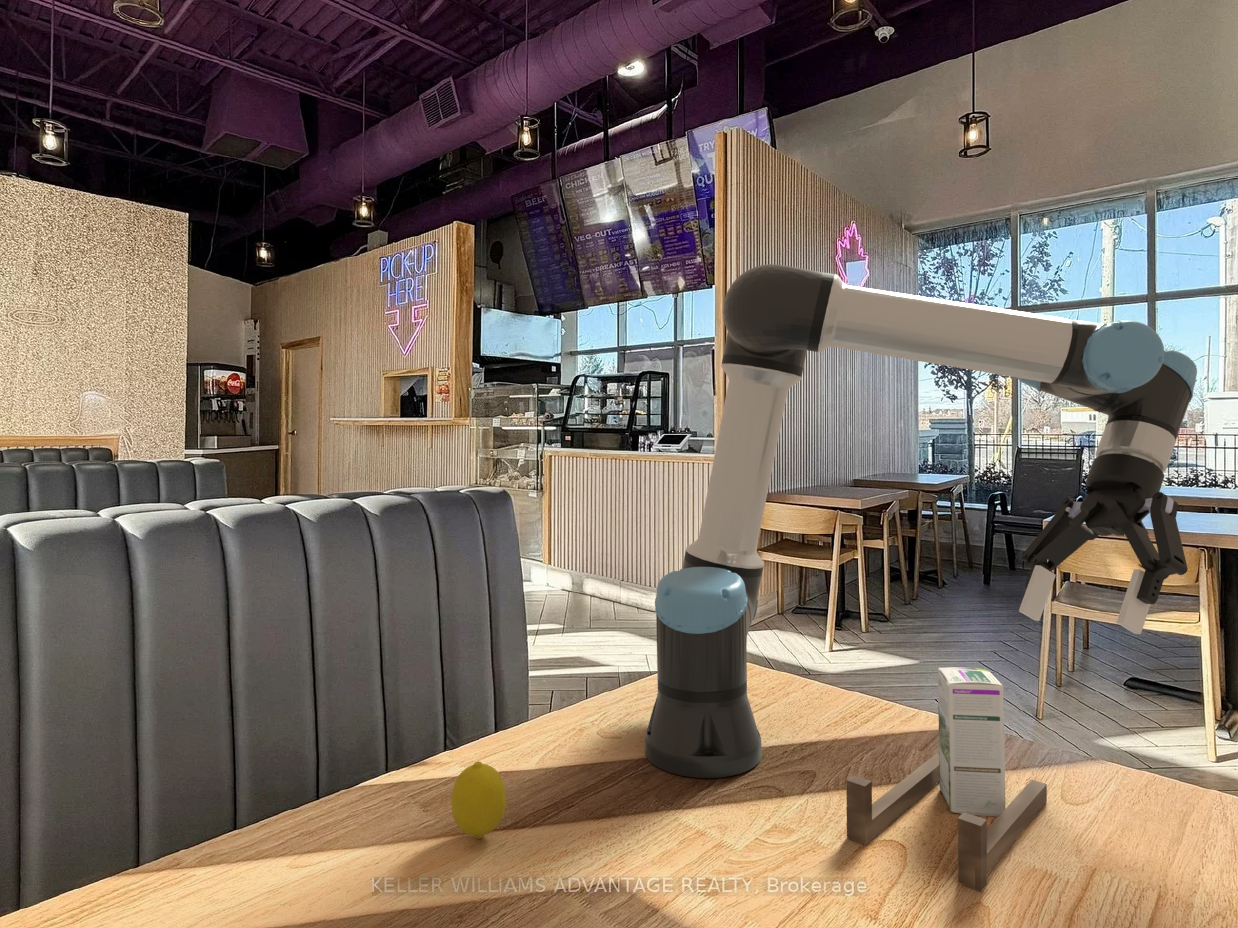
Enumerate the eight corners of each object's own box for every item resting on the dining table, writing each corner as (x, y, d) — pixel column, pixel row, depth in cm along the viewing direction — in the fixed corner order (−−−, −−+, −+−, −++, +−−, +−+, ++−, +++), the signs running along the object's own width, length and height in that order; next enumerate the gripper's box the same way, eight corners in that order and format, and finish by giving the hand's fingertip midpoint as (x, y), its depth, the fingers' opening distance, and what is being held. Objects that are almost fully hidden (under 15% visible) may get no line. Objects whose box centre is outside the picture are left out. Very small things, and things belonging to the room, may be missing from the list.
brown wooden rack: (846, 837, 75) (846, 779, 74) (933, 767, 90) (933, 719, 90) (981, 891, 65) (980, 825, 65) (1051, 802, 81) (1051, 749, 81)
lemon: (460, 858, 72) (458, 779, 72) (446, 832, 77) (444, 757, 77) (514, 843, 75) (512, 766, 74) (497, 819, 79) (495, 746, 79)
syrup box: (1007, 818, 78) (1007, 684, 77) (948, 813, 79) (948, 681, 79) (991, 792, 84) (991, 667, 83) (936, 788, 85) (936, 665, 84)
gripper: (1260, 471, 79) (1206, 651, 75) (1066, 487, 103) (1016, 624, 99) (1211, 437, 78) (1153, 618, 73) (1026, 461, 102) (973, 599, 97)
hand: (1074, 622), depth 86 cm, fingers open, 13 cm apart
